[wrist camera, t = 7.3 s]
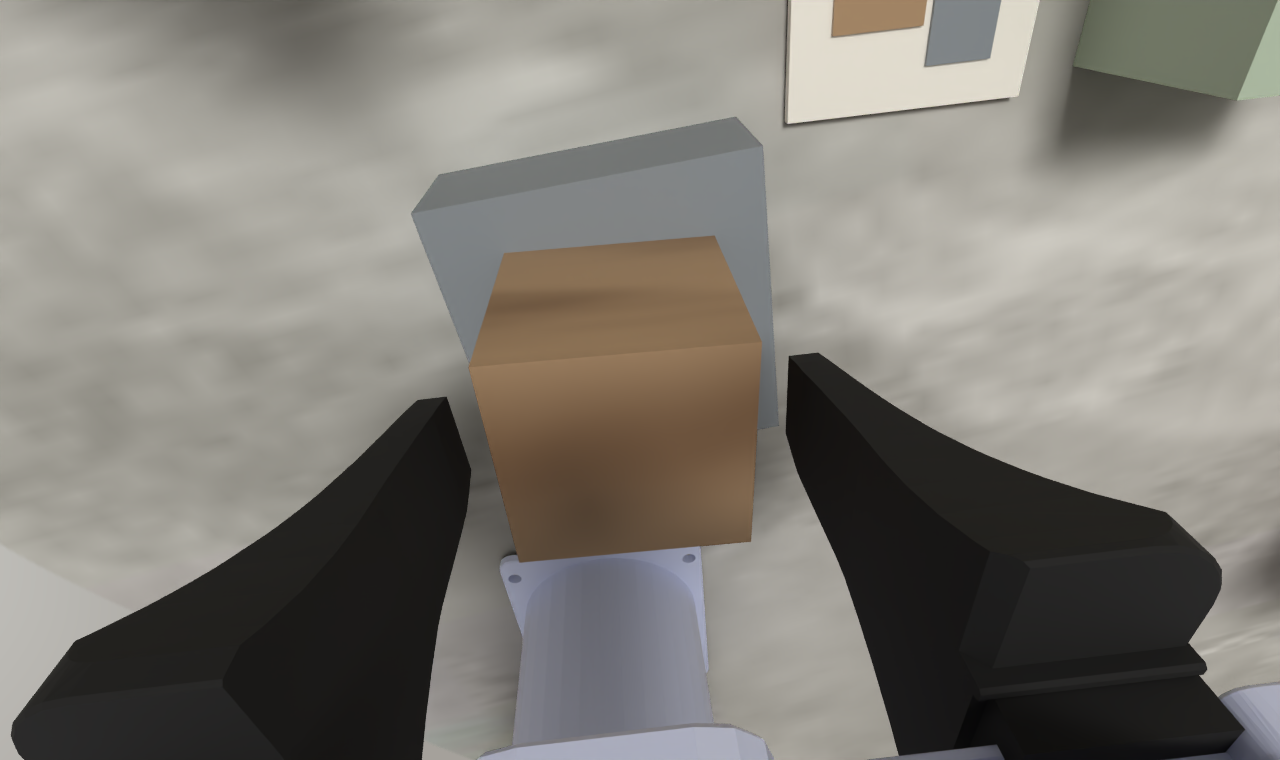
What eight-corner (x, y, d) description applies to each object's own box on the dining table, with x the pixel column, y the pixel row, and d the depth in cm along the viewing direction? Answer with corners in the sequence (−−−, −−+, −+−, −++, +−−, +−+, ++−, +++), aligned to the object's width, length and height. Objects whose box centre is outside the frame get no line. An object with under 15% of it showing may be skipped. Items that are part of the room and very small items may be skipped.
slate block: (753, 361, 21) (778, 426, 18) (522, 403, 21) (511, 472, 18) (733, 113, 17) (763, 145, 14) (441, 170, 17) (410, 213, 14)
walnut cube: (713, 405, 18) (750, 541, 13) (537, 420, 17) (519, 562, 13) (714, 235, 15) (762, 341, 11) (503, 253, 15) (468, 366, 10)
